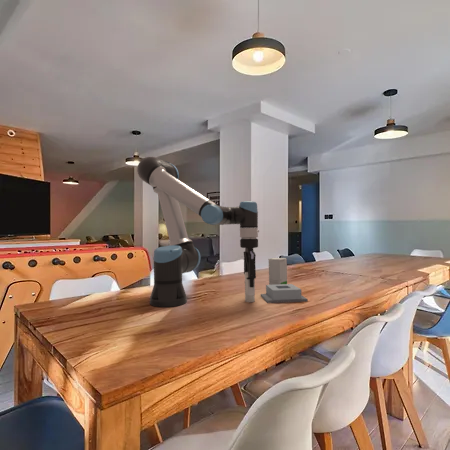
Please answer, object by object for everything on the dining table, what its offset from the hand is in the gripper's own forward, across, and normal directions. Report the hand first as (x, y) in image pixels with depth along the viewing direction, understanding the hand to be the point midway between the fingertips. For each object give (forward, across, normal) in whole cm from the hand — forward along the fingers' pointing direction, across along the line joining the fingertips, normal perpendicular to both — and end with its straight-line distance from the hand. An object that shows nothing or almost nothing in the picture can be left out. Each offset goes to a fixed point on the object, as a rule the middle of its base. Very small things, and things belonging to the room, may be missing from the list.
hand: (249, 293), depth 127 cm
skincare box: (+4, +20, -18) cm, 27 cm away
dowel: (+3, 0, 0) cm, 3 cm away
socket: (+3, +2, -15) cm, 16 cm away
